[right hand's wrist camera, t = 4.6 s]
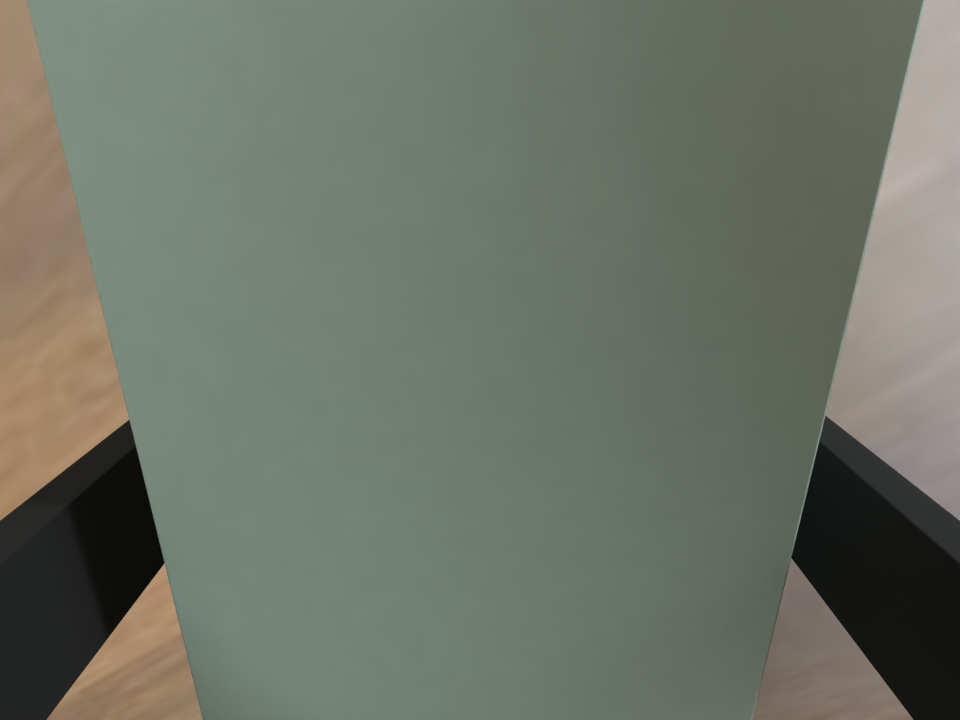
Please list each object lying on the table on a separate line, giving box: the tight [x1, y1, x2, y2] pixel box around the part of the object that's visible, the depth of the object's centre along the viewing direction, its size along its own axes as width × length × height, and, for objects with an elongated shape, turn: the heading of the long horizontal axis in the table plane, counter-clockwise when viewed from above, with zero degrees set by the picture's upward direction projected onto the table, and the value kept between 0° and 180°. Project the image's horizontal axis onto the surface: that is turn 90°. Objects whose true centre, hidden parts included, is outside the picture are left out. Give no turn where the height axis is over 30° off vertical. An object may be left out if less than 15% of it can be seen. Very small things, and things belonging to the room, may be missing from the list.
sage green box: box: [27, 0, 925, 720], centre depth 13 cm, size 16×10×10 cm, turn 0°
